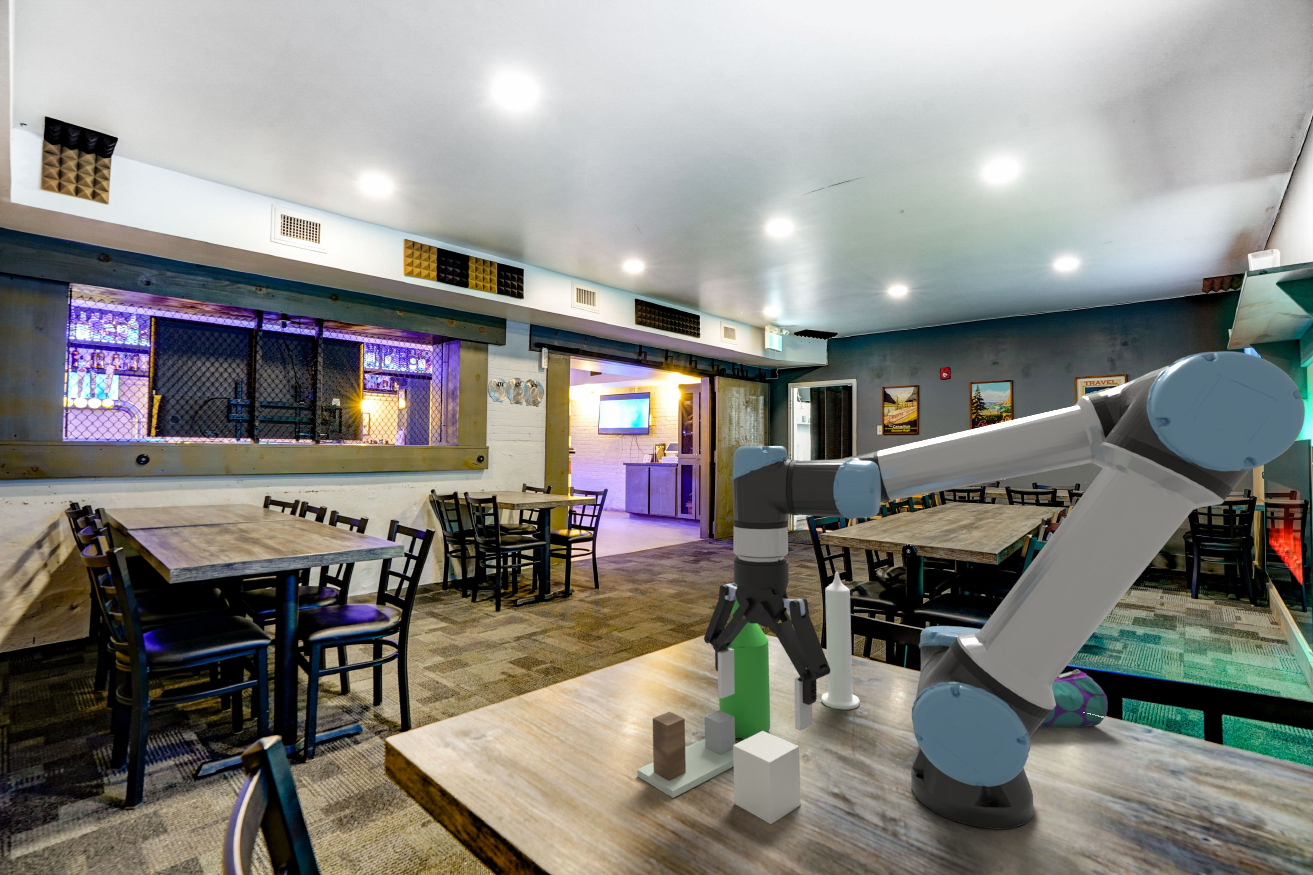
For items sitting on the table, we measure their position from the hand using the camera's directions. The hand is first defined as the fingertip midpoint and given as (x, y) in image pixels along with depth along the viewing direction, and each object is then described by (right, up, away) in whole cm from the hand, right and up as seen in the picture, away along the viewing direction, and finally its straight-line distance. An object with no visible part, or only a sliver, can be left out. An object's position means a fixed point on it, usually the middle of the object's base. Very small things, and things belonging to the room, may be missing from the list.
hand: (762, 710), depth 85 cm
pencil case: (+51, -13, +22) cm, 57 cm away
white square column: (+1, -13, 0) cm, 13 cm away
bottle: (+1, -14, +22) cm, 26 cm away
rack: (-9, -13, +10) cm, 19 cm away
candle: (+21, -13, +33) cm, 41 cm away
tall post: (-13, -13, +7) cm, 20 cm away
